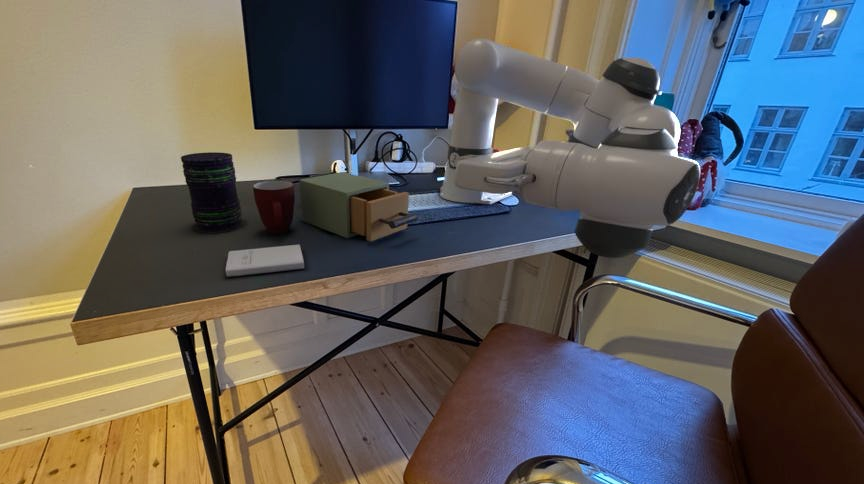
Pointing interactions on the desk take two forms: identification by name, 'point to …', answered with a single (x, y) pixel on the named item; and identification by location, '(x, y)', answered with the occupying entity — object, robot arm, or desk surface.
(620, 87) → the robot arm
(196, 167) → the storage jar
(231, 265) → the hard drive
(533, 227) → the desk surface
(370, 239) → the drawer
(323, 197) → the cabinet
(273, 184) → the mug
